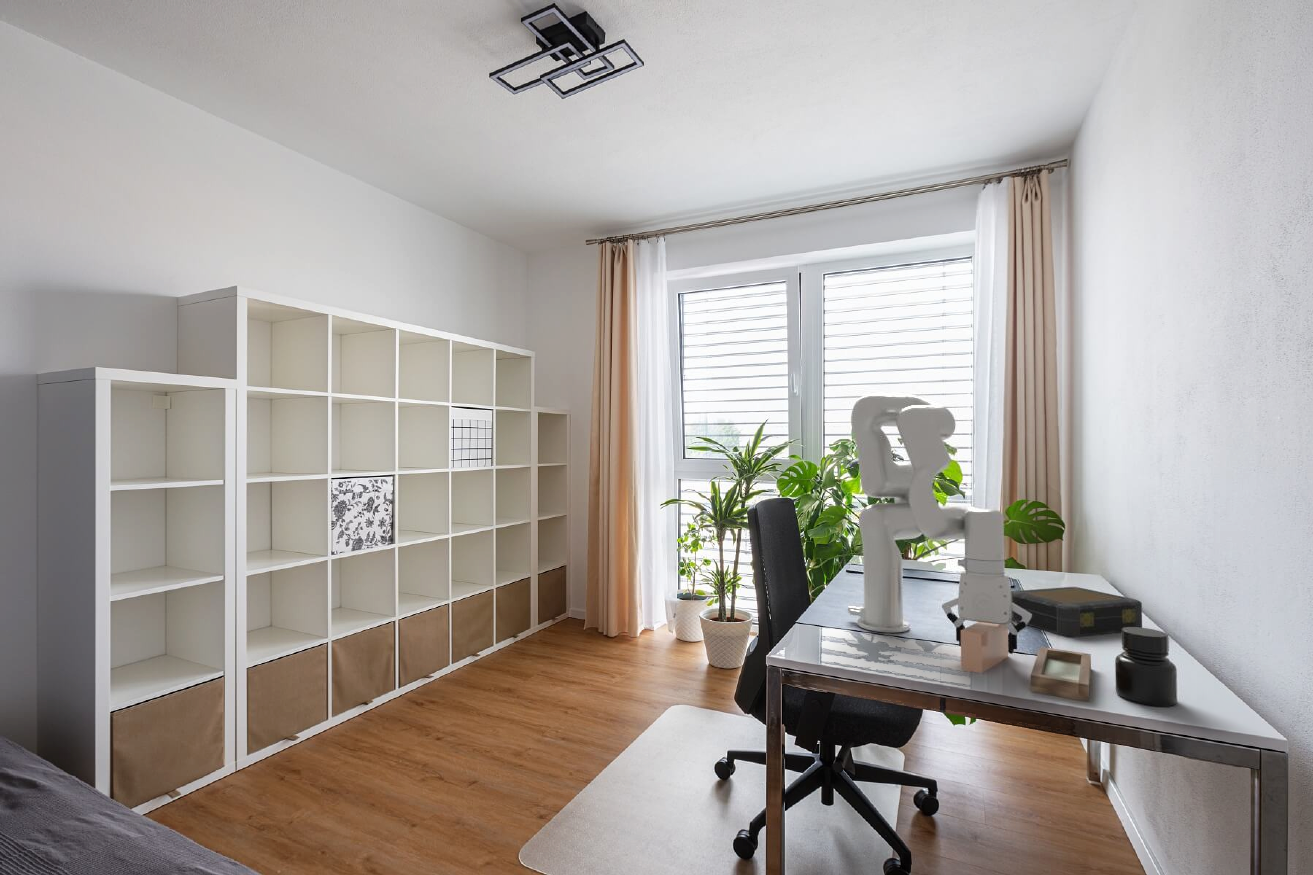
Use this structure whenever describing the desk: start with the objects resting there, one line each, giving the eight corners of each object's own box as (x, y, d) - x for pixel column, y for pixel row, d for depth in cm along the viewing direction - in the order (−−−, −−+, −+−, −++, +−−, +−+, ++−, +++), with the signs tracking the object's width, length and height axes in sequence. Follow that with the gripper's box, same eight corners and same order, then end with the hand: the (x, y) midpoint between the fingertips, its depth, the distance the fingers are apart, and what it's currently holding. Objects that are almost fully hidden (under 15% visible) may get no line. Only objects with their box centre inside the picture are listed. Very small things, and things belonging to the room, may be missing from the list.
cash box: (1073, 612, 183) (1072, 585, 184) (1145, 631, 164) (1145, 600, 164) (1002, 619, 176) (1001, 590, 176) (1069, 639, 157) (1068, 607, 157)
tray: (1030, 691, 121) (1030, 674, 121) (1040, 660, 139) (1040, 646, 139) (1088, 701, 116) (1088, 684, 116) (1090, 668, 134) (1090, 654, 134)
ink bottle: (1192, 706, 114) (1191, 637, 114) (1151, 710, 112) (1150, 640, 112) (1140, 687, 123) (1139, 623, 124) (1102, 690, 121) (1100, 626, 122)
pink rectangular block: (961, 669, 134) (960, 630, 134) (988, 653, 145) (988, 617, 145) (981, 674, 131) (981, 634, 131) (1008, 657, 142) (1007, 620, 142)
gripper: (937, 565, 140) (938, 646, 140) (1029, 573, 130) (1031, 660, 130) (944, 561, 146) (945, 638, 146) (1033, 568, 137) (1034, 651, 136)
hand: (986, 648), depth 138 cm, fingers open, 9 cm apart
